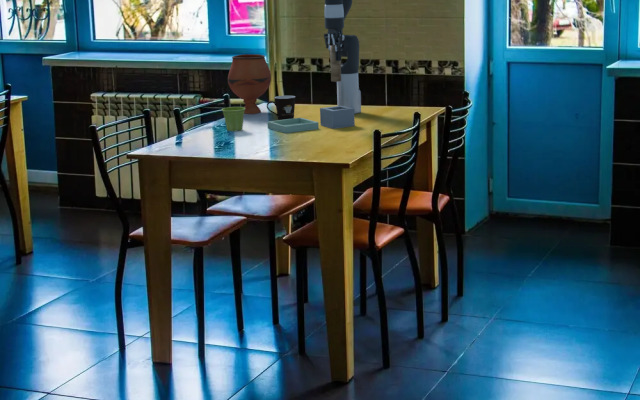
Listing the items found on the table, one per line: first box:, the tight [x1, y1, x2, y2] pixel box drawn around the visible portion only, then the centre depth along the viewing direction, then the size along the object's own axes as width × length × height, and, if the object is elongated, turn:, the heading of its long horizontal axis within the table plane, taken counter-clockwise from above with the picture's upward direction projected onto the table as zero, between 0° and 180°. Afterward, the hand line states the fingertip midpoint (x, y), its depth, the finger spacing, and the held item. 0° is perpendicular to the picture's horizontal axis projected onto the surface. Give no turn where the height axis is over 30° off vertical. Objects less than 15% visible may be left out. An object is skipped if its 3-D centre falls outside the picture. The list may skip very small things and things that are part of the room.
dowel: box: [329, 45, 342, 83], centre depth 410 cm, size 4×4×14 cm
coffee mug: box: [266, 95, 296, 120], centre depth 431 cm, size 12×9×10 cm
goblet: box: [227, 53, 272, 115], centre depth 454 cm, size 19×19×25 cm
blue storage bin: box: [319, 105, 356, 130], centre depth 415 cm, size 10×10×7 cm
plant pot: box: [221, 106, 245, 132], centre depth 413 cm, size 9×9×9 cm
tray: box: [267, 117, 320, 134], centre depth 413 cm, size 15×15×3 cm
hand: (335, 60), depth 410 cm, fingers closed on dowel, 4 cm apart
